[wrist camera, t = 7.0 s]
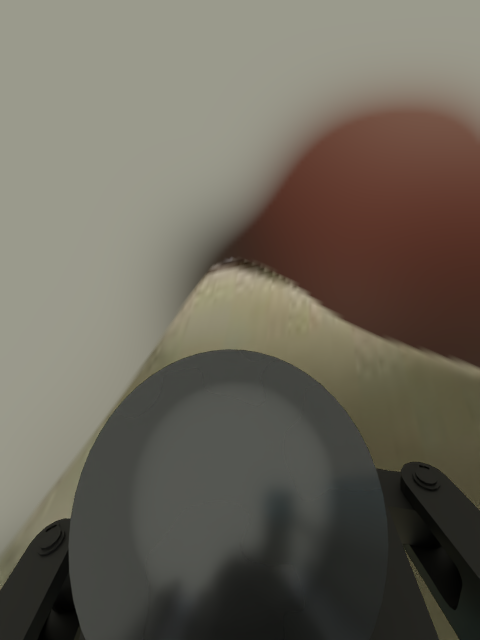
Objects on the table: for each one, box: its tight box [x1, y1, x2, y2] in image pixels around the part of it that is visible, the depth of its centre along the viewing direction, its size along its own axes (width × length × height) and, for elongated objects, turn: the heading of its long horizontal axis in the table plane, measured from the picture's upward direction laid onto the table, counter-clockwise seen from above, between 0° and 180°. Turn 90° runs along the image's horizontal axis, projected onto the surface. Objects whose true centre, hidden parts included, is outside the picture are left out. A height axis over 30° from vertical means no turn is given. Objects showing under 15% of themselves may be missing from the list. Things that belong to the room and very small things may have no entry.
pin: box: [68, 350, 388, 640], centre depth 12 cm, size 4×4×18 cm
